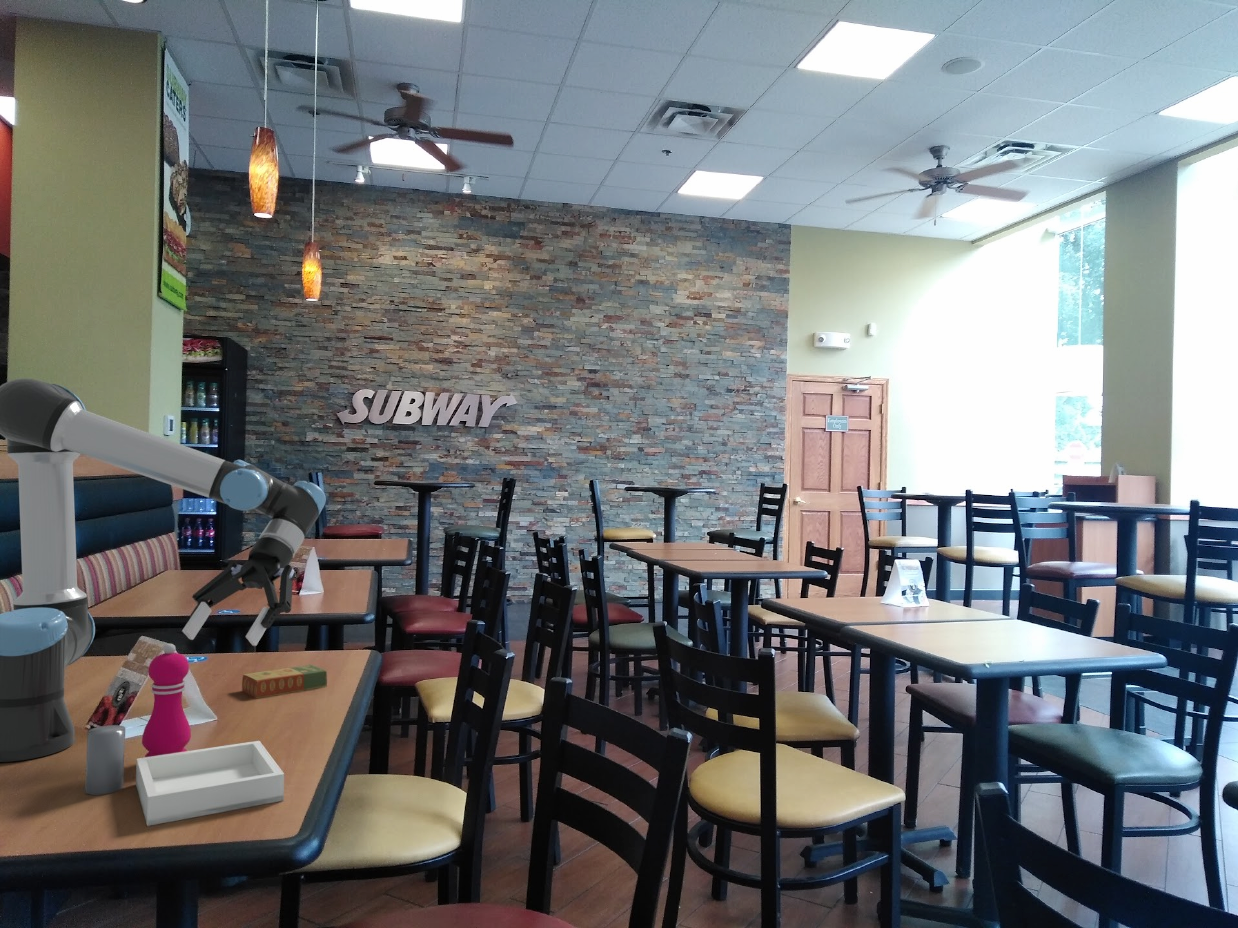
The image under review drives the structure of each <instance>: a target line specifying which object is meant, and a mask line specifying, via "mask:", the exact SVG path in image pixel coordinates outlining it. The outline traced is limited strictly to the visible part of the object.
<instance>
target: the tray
mask: <svg viewBox="0 0 1238 928" xmlns="http://www.w3.org/2000/svg"><path fill="white" fill-rule="evenodd" d="M135 769H136V771H135V772H136V773H135V787H136V790H137V793H138V797H139V801H140V804H141V805H140V806H141V809H142V813H143V816H144V820H145V823H146V826H147V827H150V826H155V825H159V824H166V823H170V822H172V823H173V822H176V821H181V820H187V819H192V818H197V817H203V816H207V815H213V814H219V813H224V812H229V811H236V810H241V809H245V808H250V807H256V806H261V805H266V804H273V803H277V802H283V801H284V800H285V799H284V797H285V795H284V794H285V773H284V771H283V770H282V769H281V767H280V766H279V765H278V764H277V762H276V761H275V760H274V758H273V757H272V756H271V754H270V753H269V752H268V750H267V749H266V747H265V746H264V744H262V742H261V741H260V740H256V741H255V740H254V741H247V742H241V743H234V744H226V745H221V746H214V747H206V748H201V749H200V748H199V749H194V750H187V751H185V752H178V753H172V754H165V755H158V756H151V757H145V756H144V757H140V758H136V768H135Z"/></svg>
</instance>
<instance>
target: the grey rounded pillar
mask: <svg viewBox="0 0 1238 928" xmlns="http://www.w3.org/2000/svg"><path fill="white" fill-rule="evenodd" d="M86 739H87V740H86V763H85V764H86V765H85V782H84V783H85V785H84V786H85V787H84V788H85V789H84V792H85V794H86V795H91V796H102V795H108V794H109V795H110V794H113V793H116V792H118V791H120V790H122V789H123V787H124V773H125V772H124V771H125V770H124V768H125V753H126V751H125V750H126V747H125V746H126V745H125V744H126V726H124V725H118V724H112V725H111V724H109V725H102V726H97V727H96V726H95V727H94V728H91V729H89V730H88V731H87V738H86Z"/></svg>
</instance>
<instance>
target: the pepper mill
mask: <svg viewBox="0 0 1238 928" xmlns="http://www.w3.org/2000/svg"><path fill="white" fill-rule="evenodd" d="M176 650H177V649H176V645H174V644H173V643H167V644H165V646H164V647H163V652H164V653H162V654H158V655H157V656H155V657H154V658H153V659H152V660H151V661H150V664H149V666H148V676H149V677H150V679H151V680H152V682H153V683H151V689H150V692H151V693H152V694H153V699H154V701H153V708H152V712H151V715H150V717H149V719H148V721H147V724H146V726H145V727H144V729H143V730H144V731H143V732H142V738H141V744H142V746H143V747H144V748H145V750H147V753H146V754H145V755H144V757H151V756H158V755H165V754H172V753H178V752H185V751H188V749H186V748H185V747H186V746H187V745H188V743H189V742H190V741H191V738H192V735H191V734H192V733H191V730H192V729H191V726H190V722H189V720H188V718H187V716H186V714H185V712H184V708H183V701H182V697H183V691H185V690H186V686H185V684H186V681H185V680H184V679H185V677H186V676H187V675H188V674H189V670H190V665H189V664H190V663H189V660H188V659H187V658H186V656H184V655H183V654H181V653H178V652H176Z"/></svg>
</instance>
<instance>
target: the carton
mask: <svg viewBox="0 0 1238 928" xmlns="http://www.w3.org/2000/svg"><path fill="white" fill-rule="evenodd" d="M326 687H328V674H327V670H325V669H324V668H320V667H318V666H315V665H313V664H307V665H301V666H293V667H286V668H278V669H271V670H263V671H257V672H250V673H245V674H244V673H243V674H242V681H241V691H242V692H243V693H245V692H246V693H245V694H247V695H249V694H250V695H249V696H251V697H253V698H254V699H262V698H268V697H273V696H280V695H285V694H291V693H290V692H292V693H298V692H302V691H304V692H305V691H310V690H315V688H316V689H321V688H326ZM279 694H280V695H279ZM267 696H268V697H267Z"/></svg>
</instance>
